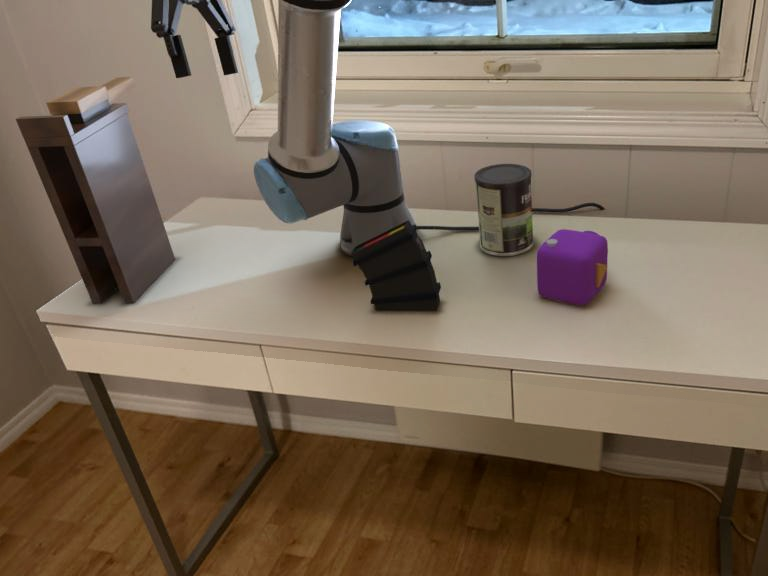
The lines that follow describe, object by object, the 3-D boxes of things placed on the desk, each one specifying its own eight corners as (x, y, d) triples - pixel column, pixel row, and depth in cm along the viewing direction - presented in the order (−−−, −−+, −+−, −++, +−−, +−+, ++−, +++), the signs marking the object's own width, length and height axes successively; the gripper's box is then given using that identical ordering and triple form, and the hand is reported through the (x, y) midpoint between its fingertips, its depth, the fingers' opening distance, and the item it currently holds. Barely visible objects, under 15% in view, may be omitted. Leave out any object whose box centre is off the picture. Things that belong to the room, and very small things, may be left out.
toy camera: (614, 272, 131) (616, 218, 125) (598, 311, 120) (600, 255, 115) (554, 266, 134) (553, 214, 129) (533, 304, 124) (532, 249, 118)
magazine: (455, 304, 122) (406, 227, 115) (389, 332, 127) (338, 261, 120) (459, 292, 125) (411, 217, 118) (394, 321, 130) (344, 250, 123)
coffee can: (537, 233, 146) (535, 163, 138) (529, 257, 138) (526, 184, 130) (485, 232, 148) (480, 162, 140) (474, 256, 140) (468, 183, 132)
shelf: (177, 257, 148) (121, 85, 130) (134, 303, 134) (63, 117, 115) (139, 257, 149) (78, 87, 131) (92, 303, 135) (15, 119, 116)
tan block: (142, 89, 139) (136, 69, 137) (85, 123, 122) (76, 101, 120) (115, 91, 139) (108, 71, 137) (54, 124, 123) (45, 102, 121)
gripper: (201, -44, 140) (232, 76, 147) (102, -60, 118) (143, 82, 126) (235, -53, 138) (264, 69, 145) (139, -71, 116) (179, 74, 123)
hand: (208, 75), depth 135 cm, fingers open, 13 cm apart
